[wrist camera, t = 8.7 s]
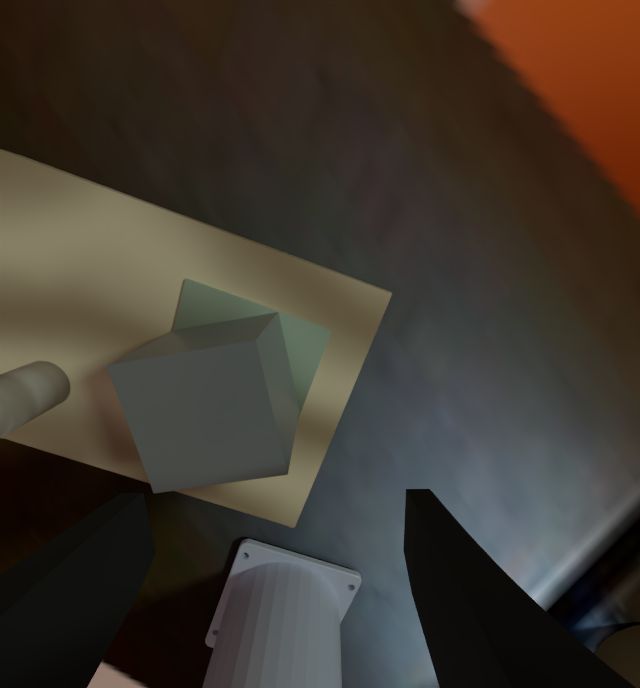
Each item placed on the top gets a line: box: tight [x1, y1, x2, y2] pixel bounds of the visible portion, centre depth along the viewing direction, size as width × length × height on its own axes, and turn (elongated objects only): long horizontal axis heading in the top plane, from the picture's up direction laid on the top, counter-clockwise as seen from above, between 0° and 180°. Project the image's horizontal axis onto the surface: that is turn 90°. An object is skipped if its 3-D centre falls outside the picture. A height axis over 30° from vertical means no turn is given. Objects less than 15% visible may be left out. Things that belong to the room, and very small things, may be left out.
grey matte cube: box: [107, 312, 299, 493], centre depth 14 cm, size 5×5×5 cm
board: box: [0, 149, 392, 528], centre depth 15 cm, size 14×18×6 cm
